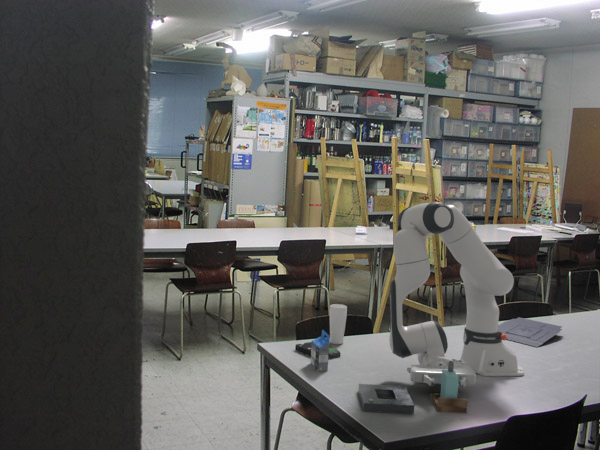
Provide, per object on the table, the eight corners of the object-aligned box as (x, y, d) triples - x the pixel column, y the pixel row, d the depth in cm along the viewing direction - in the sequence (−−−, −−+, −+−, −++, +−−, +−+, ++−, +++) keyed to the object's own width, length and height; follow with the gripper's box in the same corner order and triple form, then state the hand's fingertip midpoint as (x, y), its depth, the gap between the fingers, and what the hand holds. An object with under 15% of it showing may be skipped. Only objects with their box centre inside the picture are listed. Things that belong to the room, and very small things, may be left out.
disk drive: (294, 351, 237) (319, 362, 225) (294, 344, 236) (319, 354, 225) (315, 347, 243) (341, 357, 231) (315, 340, 243) (341, 350, 231)
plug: (451, 402, 191) (454, 358, 190) (456, 409, 185) (459, 364, 184) (439, 401, 191) (443, 357, 190) (444, 409, 185) (447, 363, 184)
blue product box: (309, 363, 222) (311, 329, 221) (320, 363, 223) (322, 329, 222) (317, 371, 213) (319, 336, 212) (328, 371, 214) (330, 336, 213)
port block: (404, 393, 196) (405, 384, 196) (413, 413, 180) (414, 404, 180) (358, 391, 196) (359, 382, 196) (363, 411, 180) (364, 401, 180)
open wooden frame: (457, 399, 194) (458, 386, 193) (466, 413, 183) (467, 400, 182) (430, 397, 194) (431, 385, 193) (437, 411, 183) (438, 398, 182)
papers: (566, 333, 278) (567, 325, 278) (537, 353, 257) (537, 345, 257) (514, 321, 295) (515, 314, 295) (483, 339, 274) (483, 332, 274)
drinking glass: (347, 342, 250) (350, 305, 249) (339, 346, 244) (342, 308, 243) (333, 339, 254) (335, 303, 252) (324, 343, 248) (326, 305, 247)
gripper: (406, 358, 203) (414, 372, 189) (469, 361, 203) (481, 375, 189) (405, 376, 203) (412, 392, 190) (467, 380, 203) (479, 395, 190)
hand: (447, 384), depth 189 cm, fingers open, 8 cm apart
